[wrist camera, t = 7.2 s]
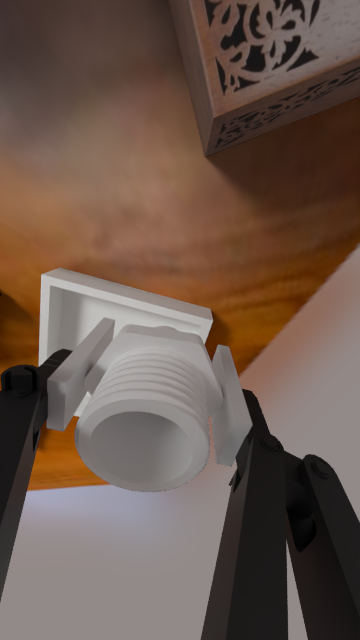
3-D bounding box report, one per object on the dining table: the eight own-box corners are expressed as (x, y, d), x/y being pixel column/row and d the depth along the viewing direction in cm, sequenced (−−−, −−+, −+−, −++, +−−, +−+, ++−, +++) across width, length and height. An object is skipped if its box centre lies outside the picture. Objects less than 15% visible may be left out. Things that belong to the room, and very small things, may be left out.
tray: (60, 267, 29) (41, 274, 26) (210, 308, 31) (213, 320, 27) (52, 388, 37) (37, 406, 33) (172, 417, 38) (170, 437, 35)
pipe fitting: (233, 336, 16) (271, 439, 8) (169, 399, 18) (154, 523, 11) (157, 277, 14) (121, 337, 7) (99, 354, 17) (25, 461, 9)
